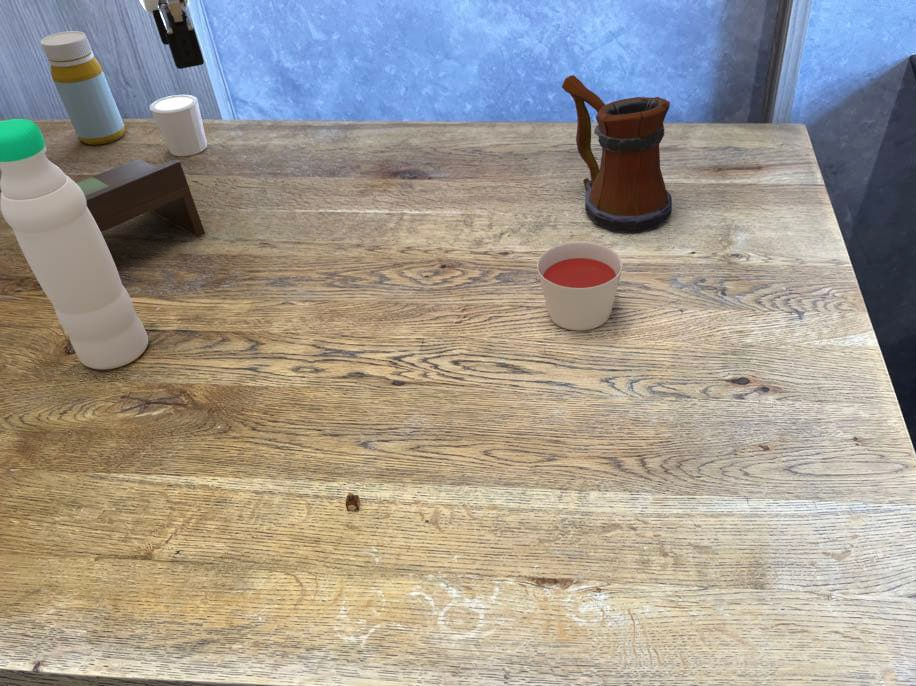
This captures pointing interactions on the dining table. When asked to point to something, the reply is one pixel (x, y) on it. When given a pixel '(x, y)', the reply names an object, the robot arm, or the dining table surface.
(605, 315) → the candle
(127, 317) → the water bottle
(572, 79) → the mug
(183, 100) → the shot glass
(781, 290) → the dining table surface
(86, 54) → the bottle
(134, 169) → the shelf
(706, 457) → the dining table surface
